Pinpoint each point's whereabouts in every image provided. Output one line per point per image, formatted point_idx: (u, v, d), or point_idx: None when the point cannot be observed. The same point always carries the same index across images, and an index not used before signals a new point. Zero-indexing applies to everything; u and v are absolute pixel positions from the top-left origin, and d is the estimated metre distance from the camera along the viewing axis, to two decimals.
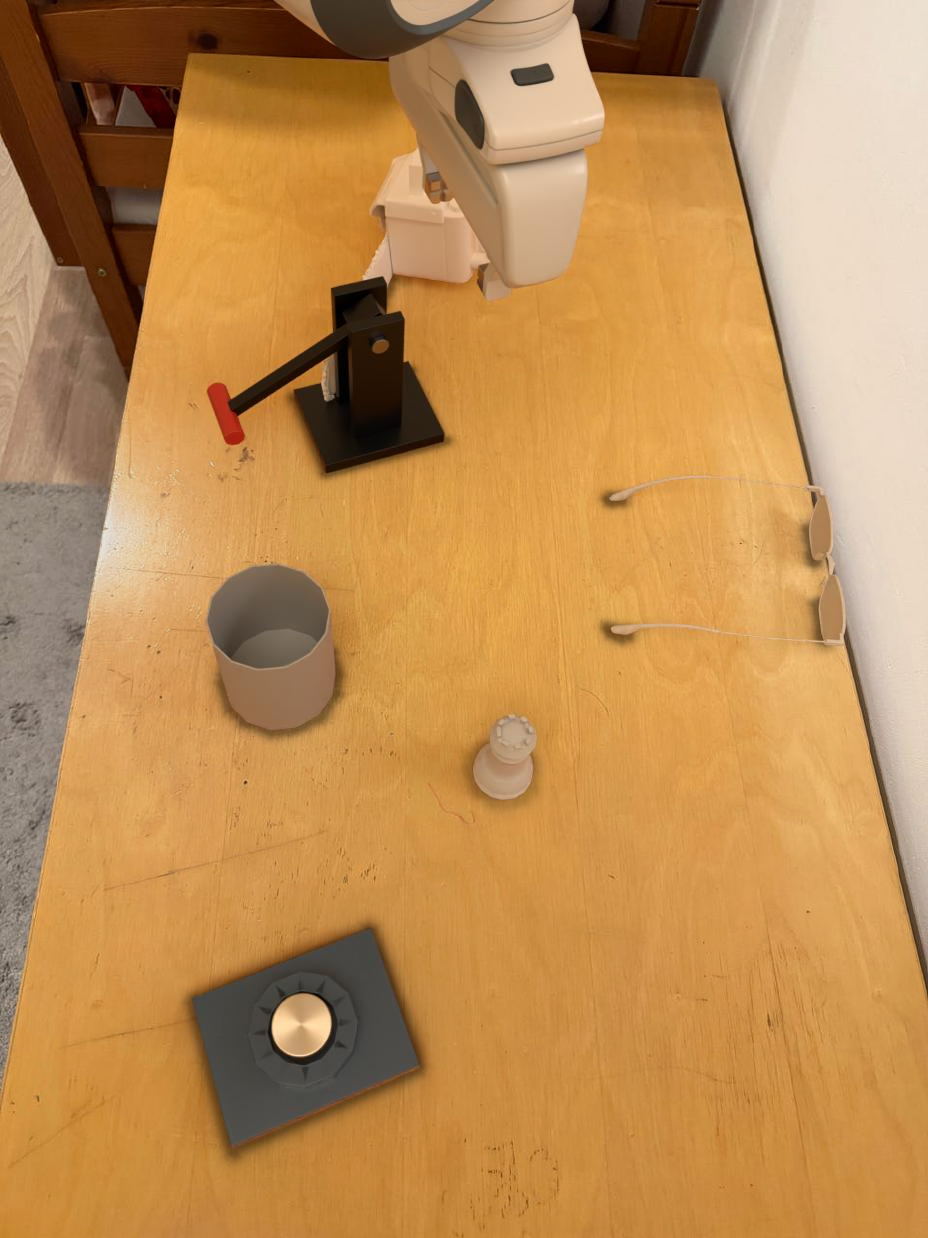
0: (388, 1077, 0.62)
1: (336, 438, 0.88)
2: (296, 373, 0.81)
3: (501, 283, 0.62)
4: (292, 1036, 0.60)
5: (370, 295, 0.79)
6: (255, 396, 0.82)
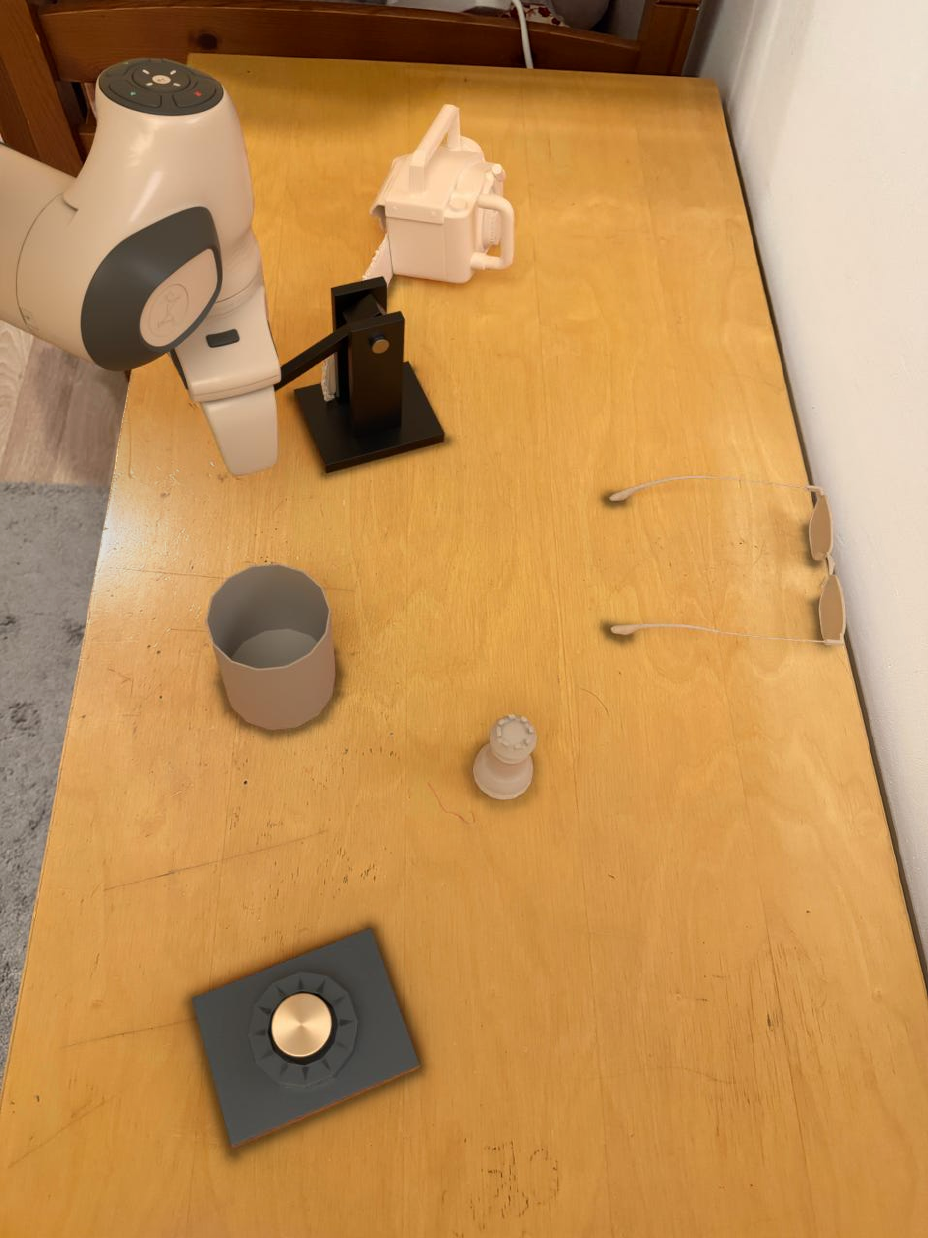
0: (388, 1077, 0.62)
1: (336, 438, 0.88)
2: (296, 373, 0.81)
3: None
4: (292, 1036, 0.60)
5: (370, 295, 0.79)
6: None
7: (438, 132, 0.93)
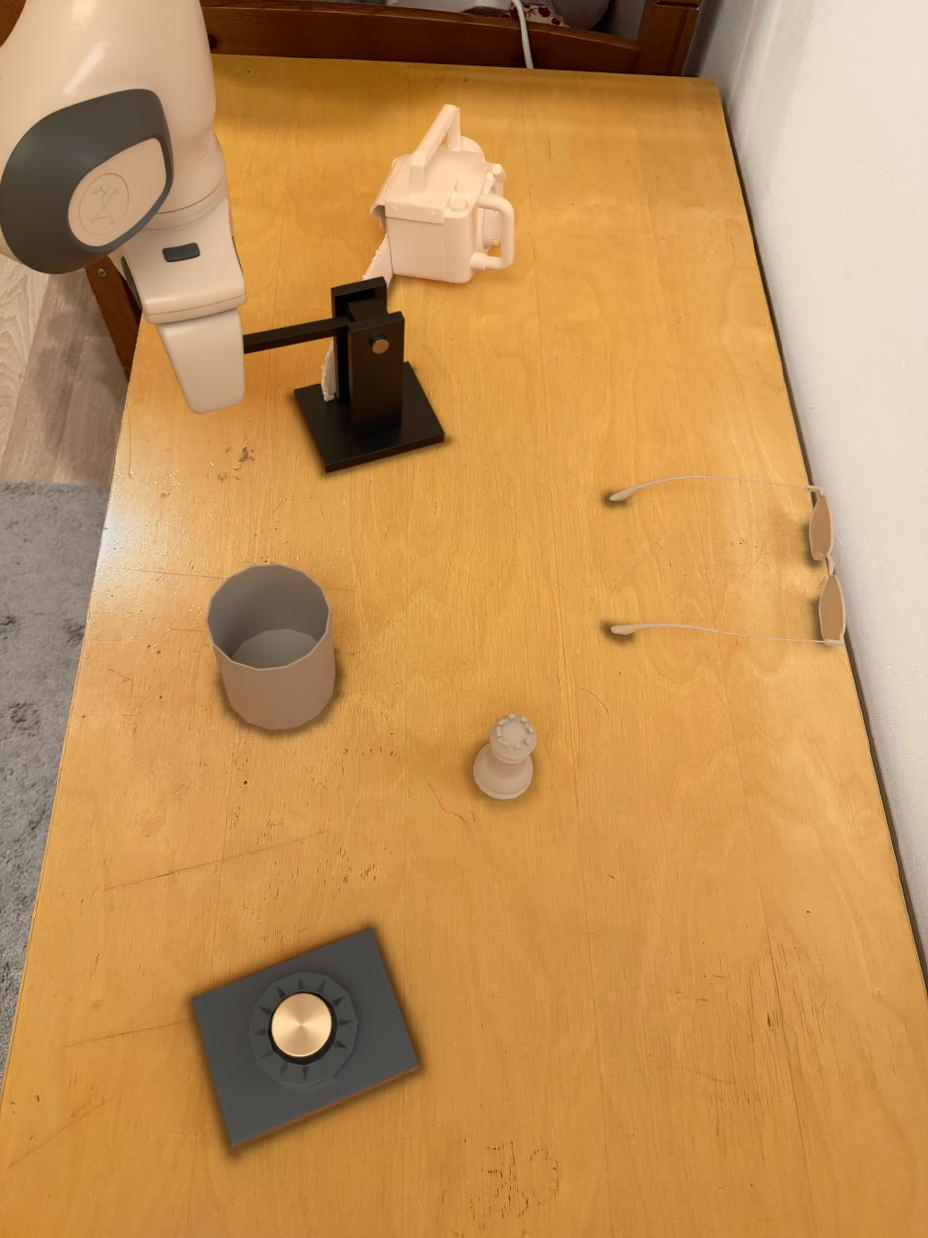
0: (388, 1077, 0.62)
1: (336, 438, 0.88)
2: (282, 342, 0.78)
3: None
4: (292, 1036, 0.60)
5: (379, 298, 0.80)
6: None
7: (438, 132, 0.93)
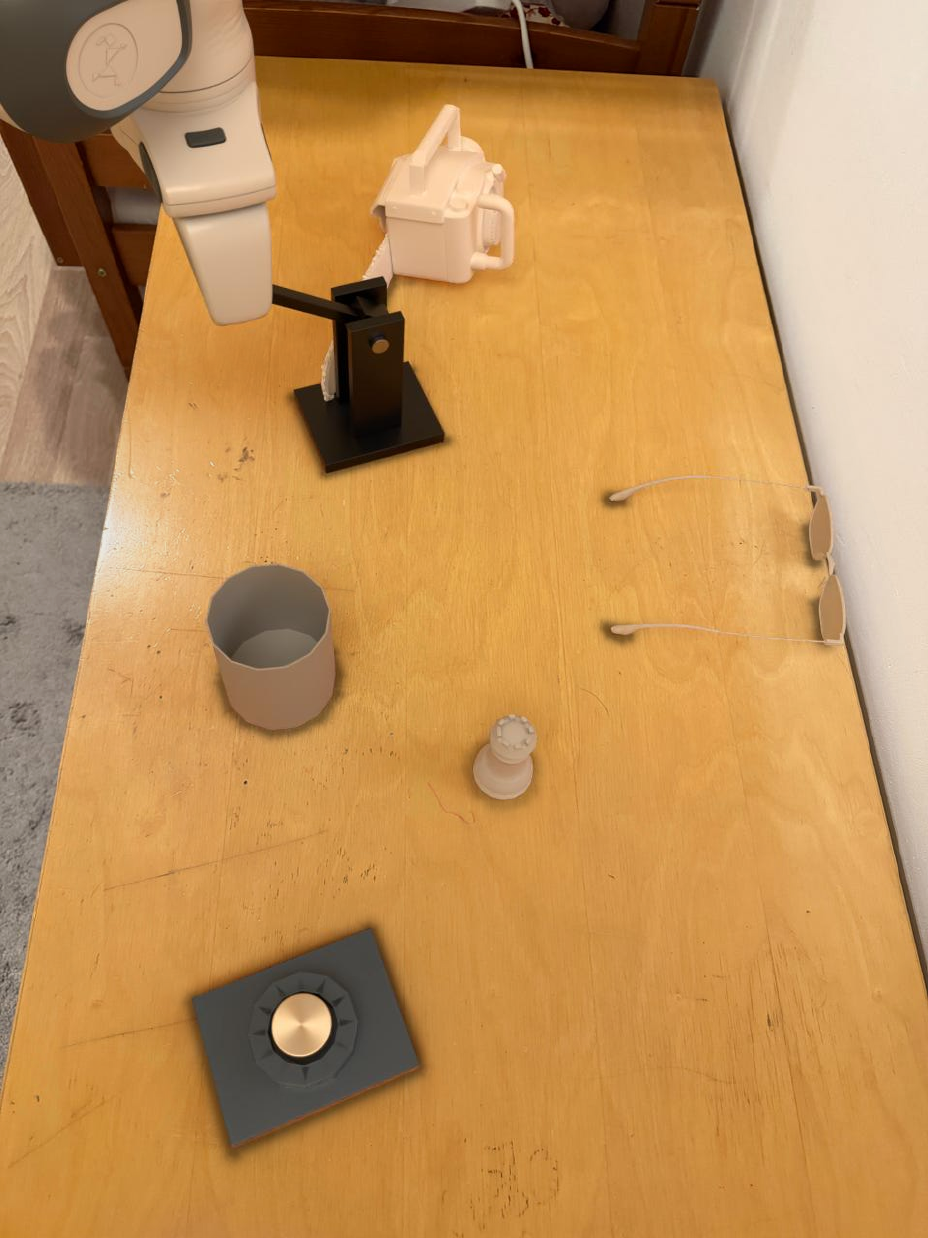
0: (388, 1077, 0.62)
1: (336, 438, 0.88)
2: (293, 304, 0.75)
3: None
4: (292, 1036, 0.60)
5: (384, 305, 0.81)
6: None
7: (438, 132, 0.93)
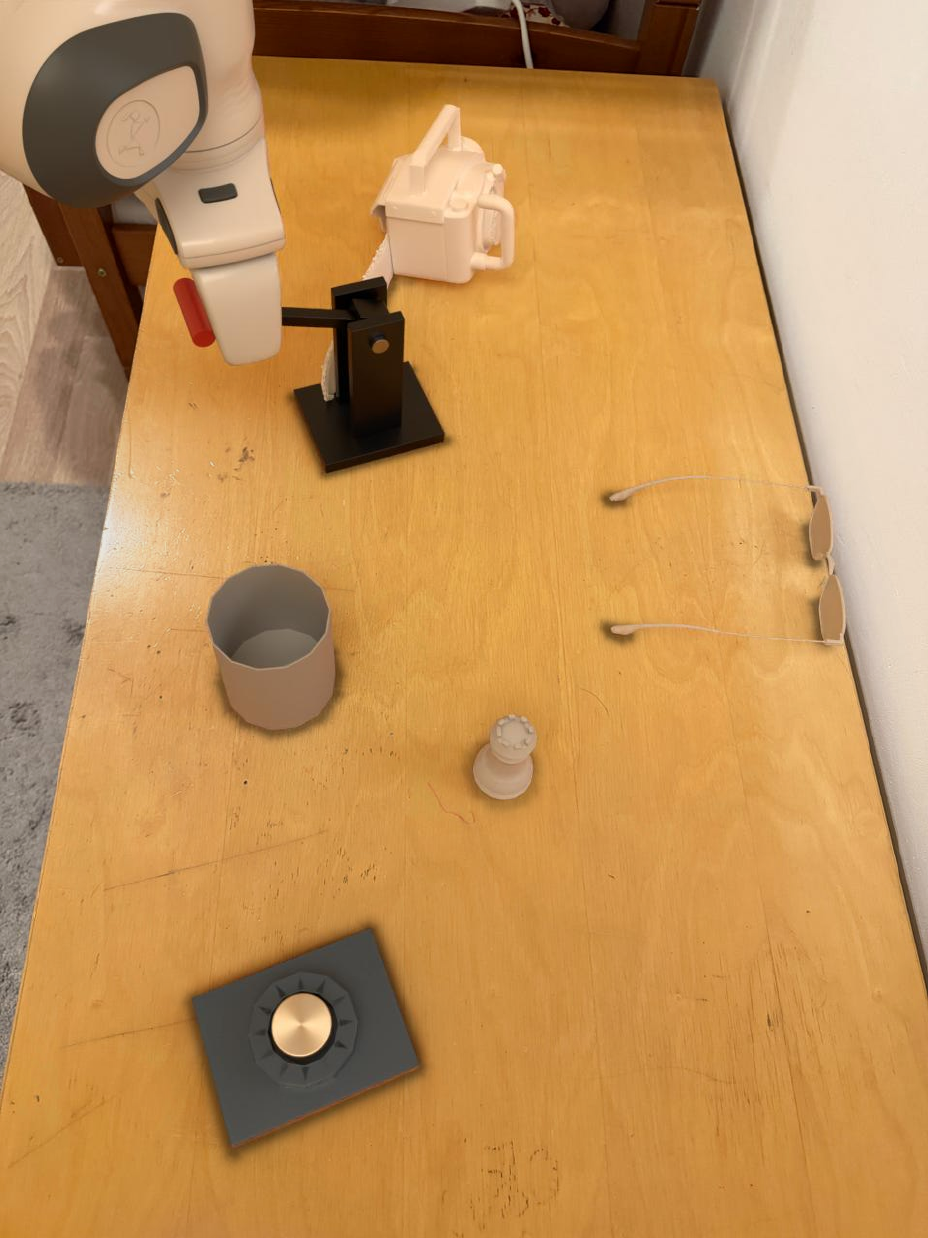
0: (388, 1077, 0.62)
1: (336, 438, 0.88)
2: (285, 321, 0.76)
3: None
4: (292, 1036, 0.60)
5: (382, 301, 0.80)
6: None
7: (438, 132, 0.93)
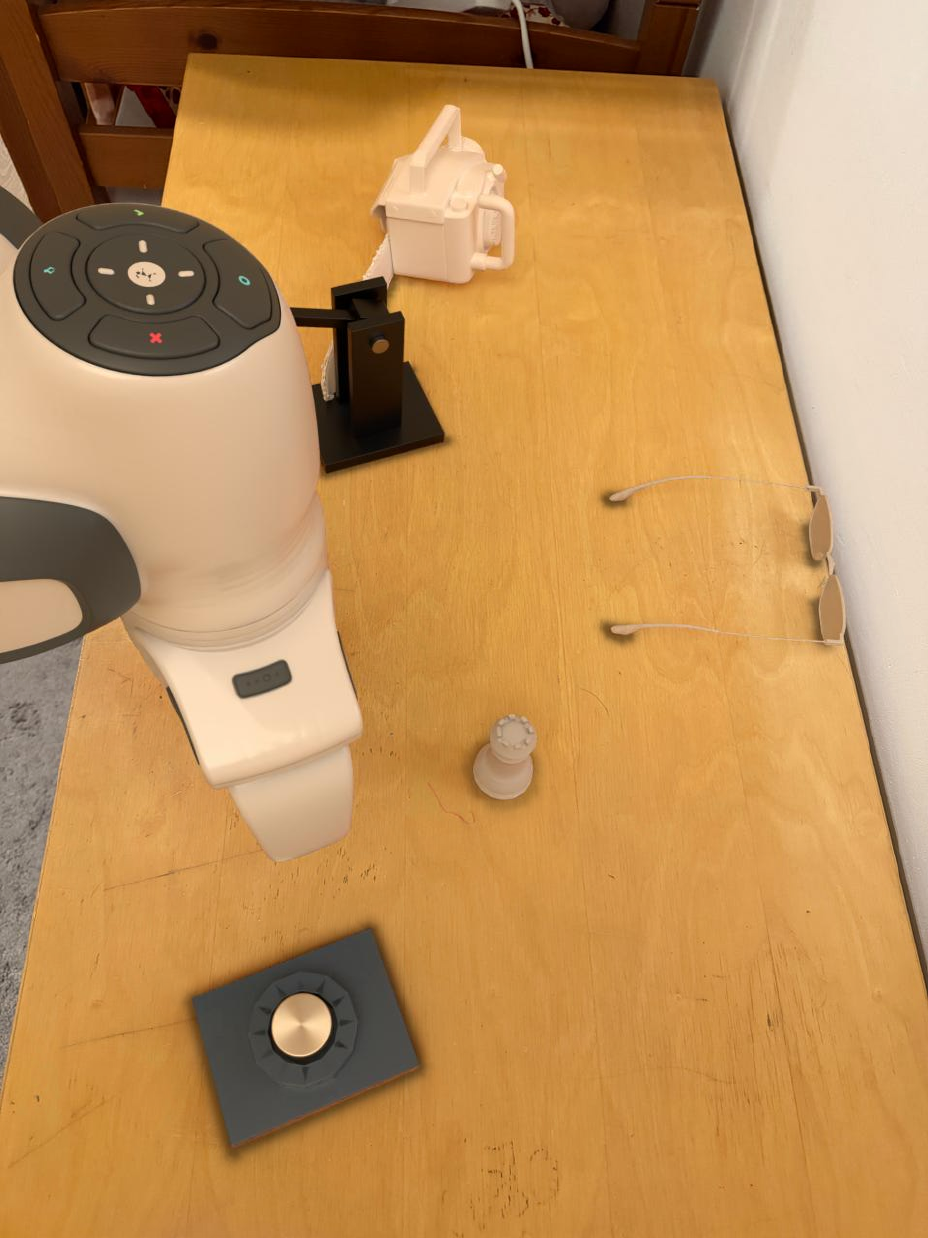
0: (388, 1077, 0.62)
1: (336, 438, 0.88)
2: None
3: None
4: (292, 1036, 0.60)
5: (382, 301, 0.80)
6: None
7: (439, 132, 0.93)
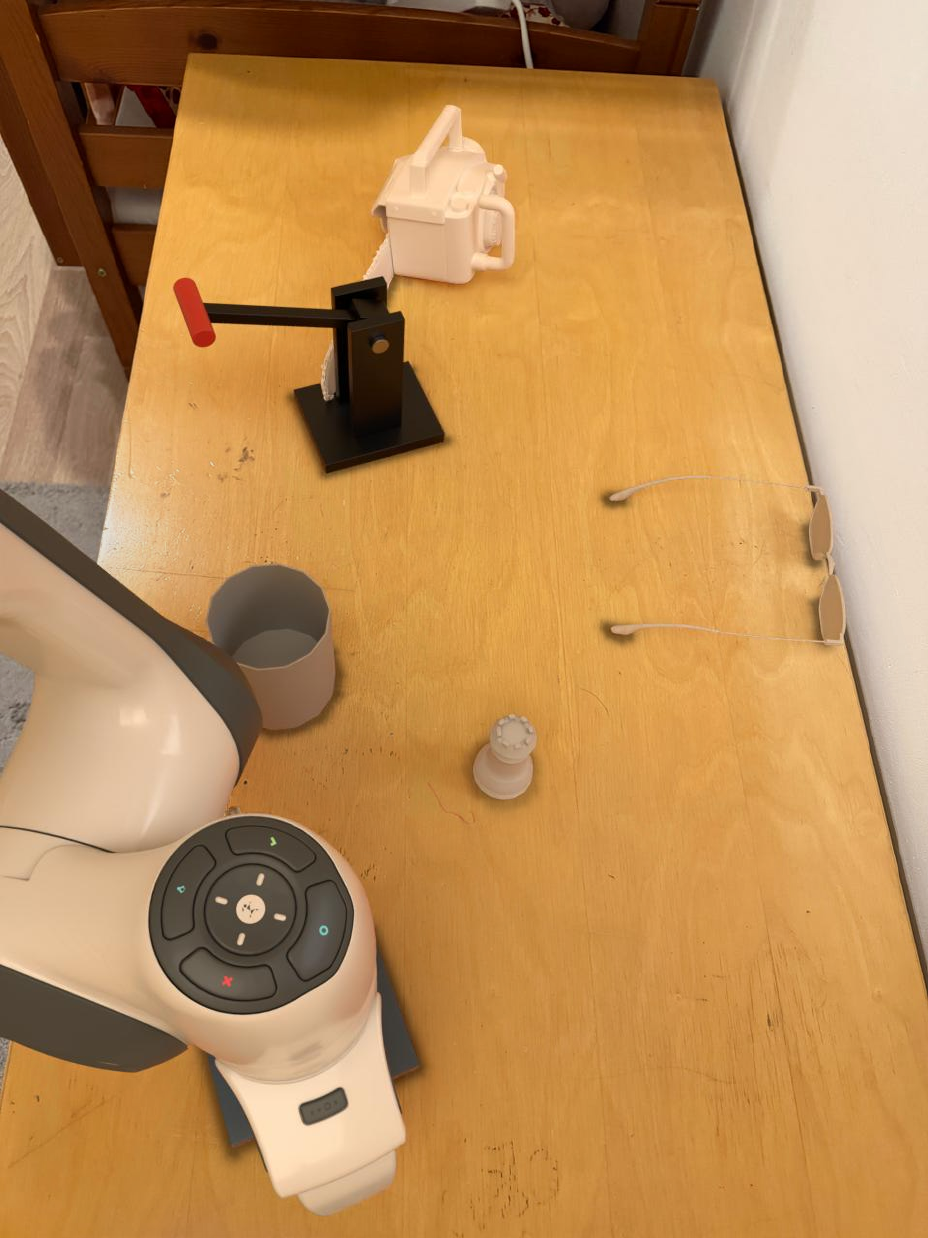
0: None
1: (336, 438, 0.88)
2: (285, 321, 0.76)
3: None
4: None
5: (382, 301, 0.80)
6: (238, 316, 0.74)
7: (439, 132, 0.93)
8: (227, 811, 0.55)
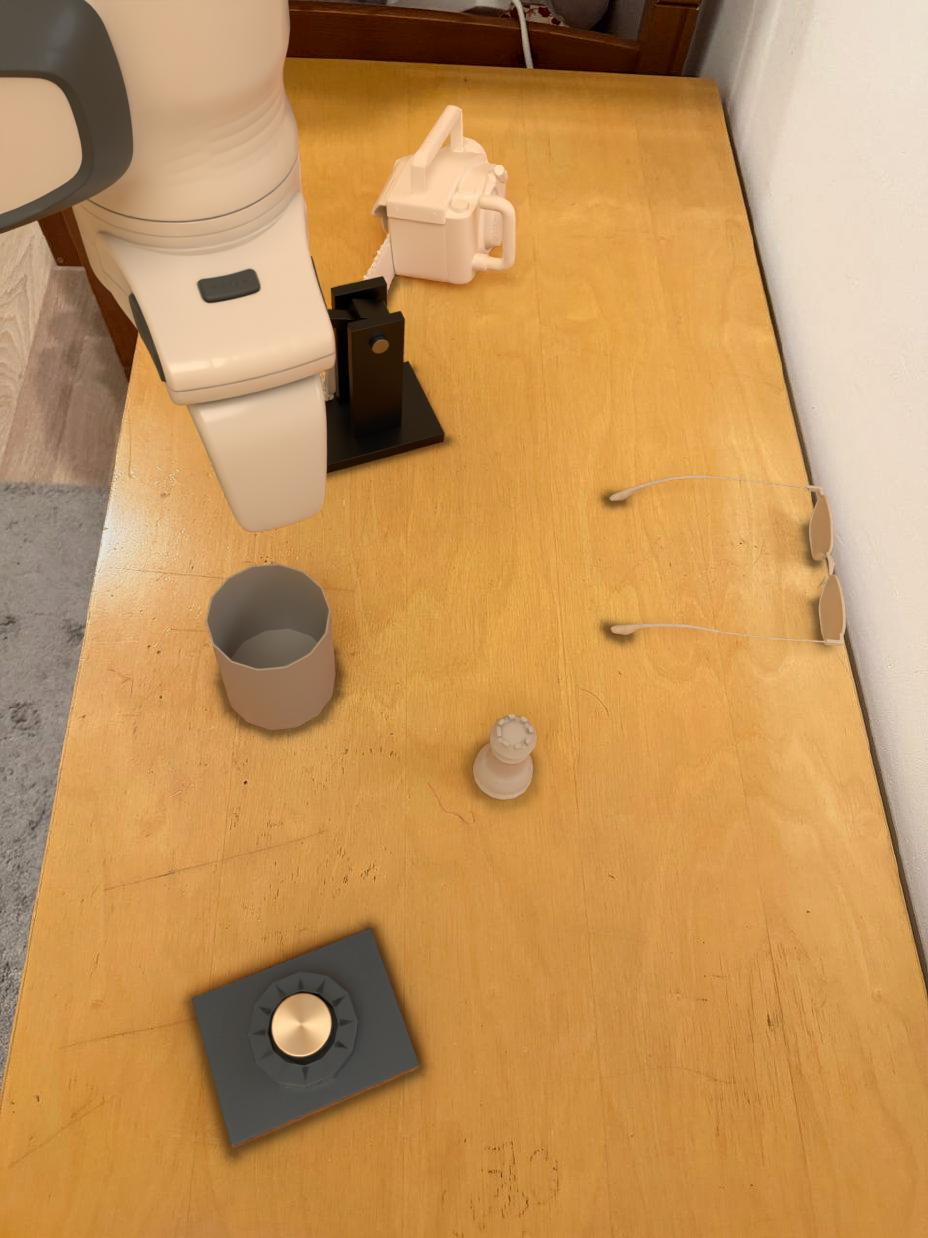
0: (388, 1077, 0.62)
1: (336, 438, 0.88)
2: None
3: None
4: (292, 1036, 0.60)
5: (382, 301, 0.80)
6: None
7: (440, 133, 0.93)
8: None
